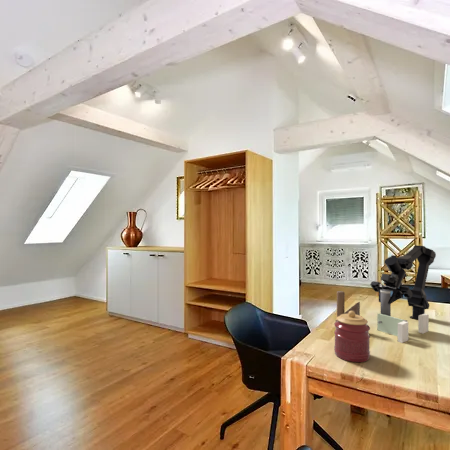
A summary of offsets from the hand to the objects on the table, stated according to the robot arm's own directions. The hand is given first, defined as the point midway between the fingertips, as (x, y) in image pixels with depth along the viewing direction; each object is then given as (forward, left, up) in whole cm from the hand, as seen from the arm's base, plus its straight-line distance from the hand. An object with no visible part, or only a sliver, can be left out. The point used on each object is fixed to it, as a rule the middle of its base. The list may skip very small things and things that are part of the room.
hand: (384, 302), depth 149 cm
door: (+3, +5, -13) cm, 15 cm away
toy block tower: (+14, -11, -13) cm, 22 cm away
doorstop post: (-1, 0, -7) cm, 7 cm away
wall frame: (-3, +12, -13) cm, 18 cm away
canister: (+40, +8, -13) cm, 43 cm away
